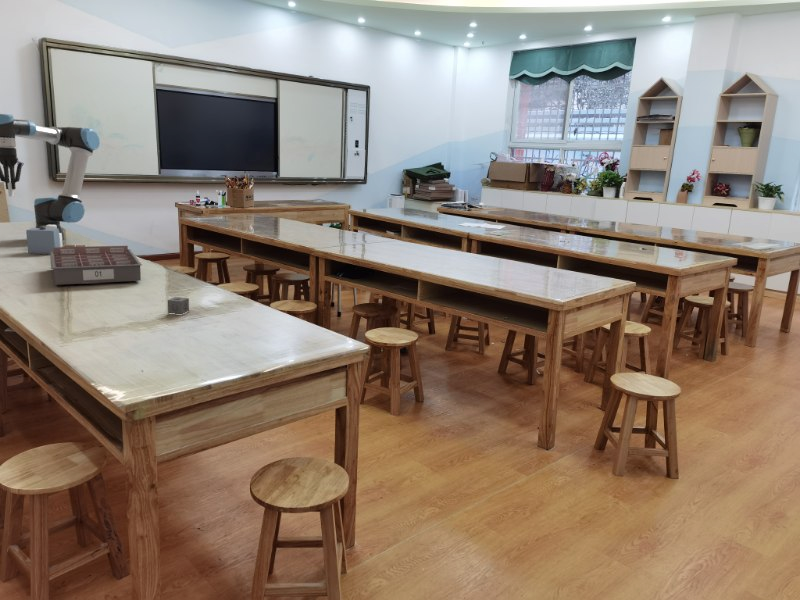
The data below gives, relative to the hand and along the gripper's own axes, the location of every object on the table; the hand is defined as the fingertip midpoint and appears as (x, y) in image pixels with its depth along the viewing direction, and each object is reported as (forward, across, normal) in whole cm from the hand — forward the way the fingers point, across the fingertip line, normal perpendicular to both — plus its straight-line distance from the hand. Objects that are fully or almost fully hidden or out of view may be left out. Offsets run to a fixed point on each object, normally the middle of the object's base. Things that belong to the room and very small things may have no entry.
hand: (11, 196), depth 299 cm
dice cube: (+27, +94, -126) cm, 160 cm away
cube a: (+27, +27, -10) cm, 39 cm away
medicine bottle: (+27, +15, +7) cm, 31 cm away
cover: (+26, +16, -10) cm, 32 cm away
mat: (+26, +16, -10) cm, 32 cm away
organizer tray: (+27, +53, -65) cm, 88 cm away
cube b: (+27, +32, -10) cm, 43 cm away
